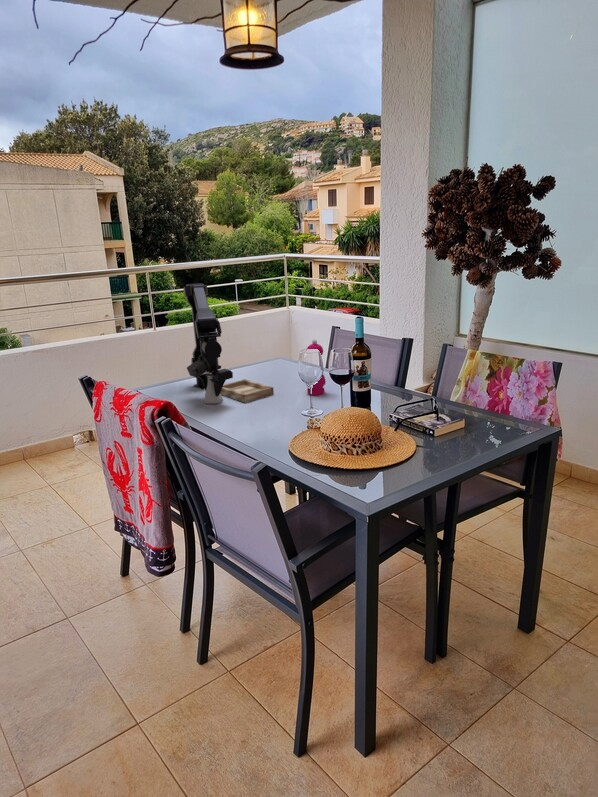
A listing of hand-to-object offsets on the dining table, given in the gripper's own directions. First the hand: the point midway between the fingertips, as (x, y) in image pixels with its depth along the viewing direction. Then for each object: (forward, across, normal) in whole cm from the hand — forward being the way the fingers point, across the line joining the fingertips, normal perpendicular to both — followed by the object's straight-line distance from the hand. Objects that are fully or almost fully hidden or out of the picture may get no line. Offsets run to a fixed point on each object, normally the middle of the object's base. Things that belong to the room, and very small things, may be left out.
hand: (212, 394), depth 199 cm
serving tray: (+2, +2, +13) cm, 13 cm away
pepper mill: (+3, +21, +31) cm, 38 cm away
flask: (+3, 0, 0) cm, 3 cm away
